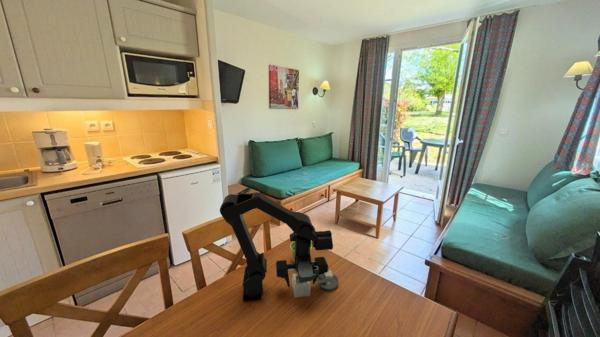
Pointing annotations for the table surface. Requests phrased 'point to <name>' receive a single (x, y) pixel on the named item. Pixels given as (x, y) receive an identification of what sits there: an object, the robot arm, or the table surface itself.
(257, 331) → the table surface
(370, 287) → the table surface
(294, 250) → the plant pot
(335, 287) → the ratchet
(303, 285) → the block with round boss
